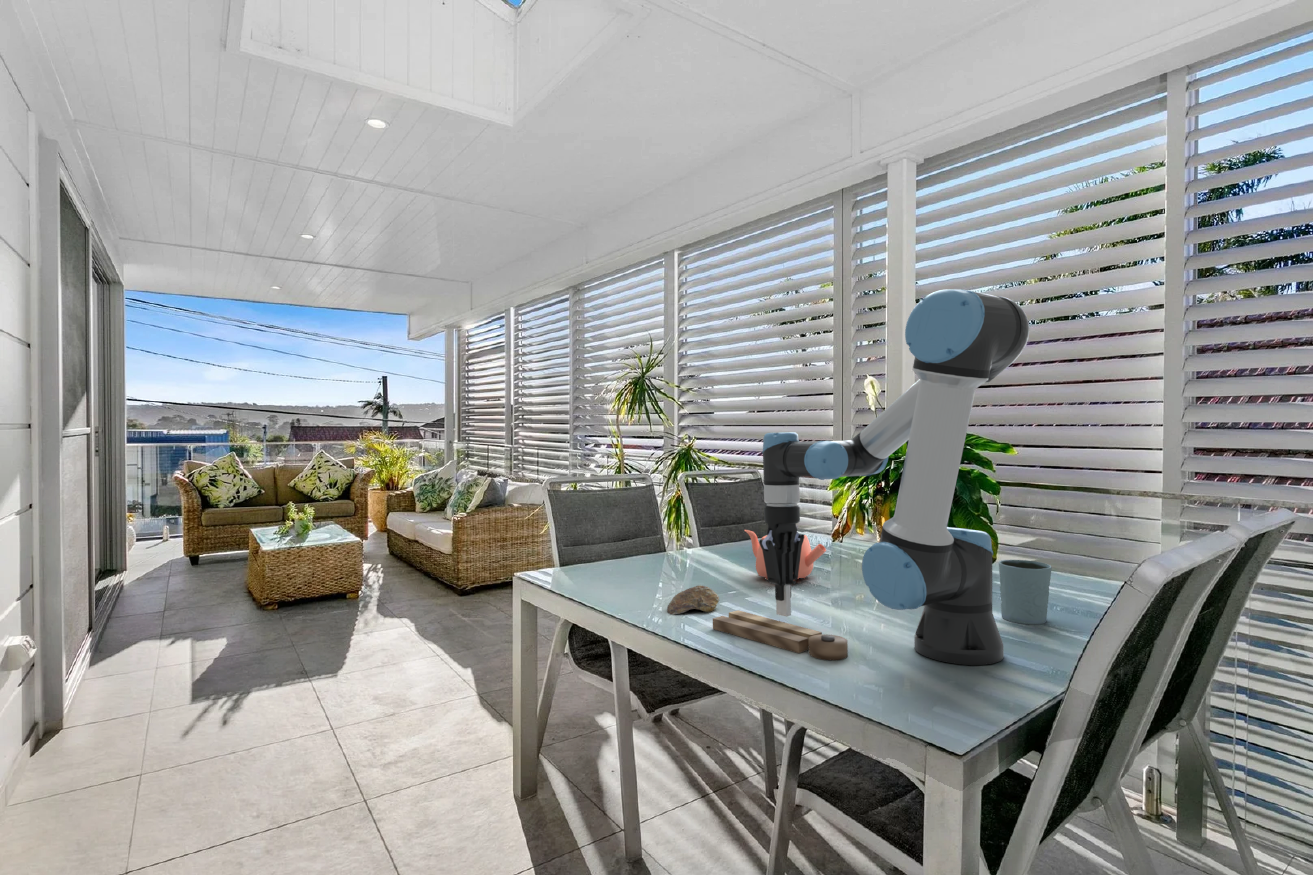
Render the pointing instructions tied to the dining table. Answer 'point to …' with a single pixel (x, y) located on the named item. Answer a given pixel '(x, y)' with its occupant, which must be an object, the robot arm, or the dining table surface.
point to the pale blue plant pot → (1024, 590)
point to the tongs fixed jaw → (786, 639)
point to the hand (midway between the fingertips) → (783, 614)
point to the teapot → (805, 558)
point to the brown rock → (694, 600)
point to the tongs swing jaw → (773, 624)
